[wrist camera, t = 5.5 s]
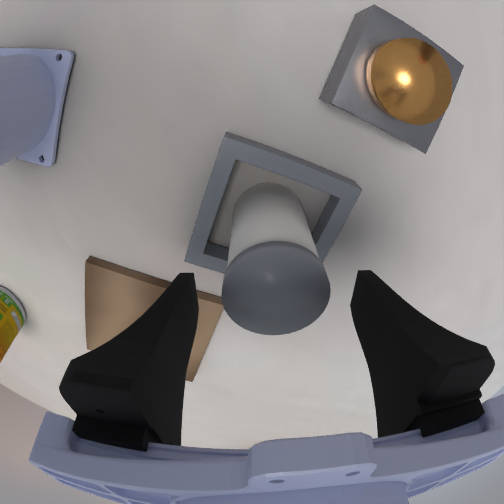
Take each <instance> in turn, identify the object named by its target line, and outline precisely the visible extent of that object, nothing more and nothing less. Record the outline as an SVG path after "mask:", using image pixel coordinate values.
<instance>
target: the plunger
mask: <svg viewBox="0 0 504 504" xmlns="http://www.w3.org/2000/svg"><path fill="white" fill-rule="evenodd" d="M366 80H367V85H368V89H369V92H370V94H371V96H372V98H373V100H374V101H375V103H376V104H377V105H378V106H379V108H380V109H381V110H383V111H384V112H385V113H386V114H388V115H389V116H391V117H393V118H395V119H398V120H401V121H403V122H406V123H409V124H413V125H425V124H429V123H431V122H434V121H435V120H437V119H438V118H440V117H441V116H442V115H443V114H444V112H445V111H446V109H447V108H448V106H449V103H450V101H451V97H452V77H451V73H450V70H449V67H448V65H447V63H446V61H445V60H444V58H443V57H442V56H441V54H440V53H439V52H438V51H437V50H436V49H435V48H434V47H432V46H431V45H430V44H428V43H426V42H424V41H422V40H419V39H416V38H400V39H395V40H390V41H387V42H384V43H382V44H381V45H379V46H378V47H377V48H376V49H375V50H374V51H373V53H372V54H371V56H370V58H369V61H368V64H367V69H366Z"/></svg>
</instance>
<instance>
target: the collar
mask: <svg viewBox="0 0 504 504" xmlns="http://www.w3.org/2000/svg"><path fill="white" fill-rule="evenodd" d="M235 160H239V161H242V162H245V163H248V164H251V165H254V166H257V167H260V168H262V169H265V170H268V171H271V172H274V173H276V174H279V175H282V176H285V177H287V178H290V179H293V180H295V181H298V182H300V183H303V184H306V185H308V186H311V187H313V188H316V189H318V190H321V191H323V192H326V193H328V194H331V197H330V199H329V201H328V203H327V205H326V207H325V209H324V211H323V213H322V215H321V217H320V219H319V221H318V223H317V225H316V227H315V229H314V231H313V233H312V238H313V241H314V244H315V247H316V250H317V253H318V256H319V259H320V260H321V262H322V263H323V261H324V259H325V257H326V256H327V254H328V252H329V250H330V248H331V247H332V245H333V243H334V241H335V240H336V238H337V236H338V234H339V232H340V230H341V229H342V227H343V225H344V223H345V221H346V219H347V218H348V216H349V214H350V212H351V210H352V208H353V206H354V204H355V202H356V201H357V199H358V197H359V195H360V193H361V191H362V189H361V188H360V187H359V186H358V185H357V184H356V182H355V181H353V180H350V179H348V178H346V177H344V176H341V175H339V174H337V173H334V172H332V171H330V170H327V169H325V168H323V167H320V166H318V165H315V164H313V163H310V162H308V161H305V160H303V159H300V158H298V157H295V156H293V155H290V154H287V153H285V152H282V151H280V150H277V149H274V148H271V147H269V146H266V145H263V144H260V143H258V142H255V141H252V140H249V139H246V138H243V137H240V136H237V135H234V134H231V133H228V132H226V134H225V136H224V139H223V141H222V144H221V147H220V150H219V153H218V156H217V159H216V162H215V165H214V167H213V170H212V173H211V176H210V179H209V182H208V186H207V189H206V192H205V195H204V198H203V201H202V204H201V207H200V210H199V214H198V217H197V220H196V223H195V227H194V230H193V233H192V237H191V240H190V243H189V247H188V250H187V253H186V257H185V260H184V262H188V263H191V264H194V265H198V266H201V267H204V268H207V269H211V270H214V271H217V272H221V273H224V274H225V271H226V269H227V263H228V255H229V249H228V248H225V247H222V246H218V245H215V244H212V243H209V242H207V240H208V237H209V234H210V231H211V228H212V225H213V222H214V219H215V216H216V213H217V211H218V208H219V205H220V202H221V199H222V196H223V193H224V191H225V188H226V185H227V182H228V179H229V177H230V174H231V171H232V168H233V166H234V163H235Z"/></svg>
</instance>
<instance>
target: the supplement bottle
mask: <svg viewBox="0 0 504 504" xmlns="http://www.w3.org/2000/svg"><path fill="white" fill-rule="evenodd" d="M25 320H26V315H25V311H24V309H23V307H22V305H21V303H20V302H19V301H18V299H17V298H16V297H15V296H14V295H13V294H12V293H11V292H10V291H9V290H7V289H5V288H3V287H0V362H1V361H2V359H3V357H4V355H5V354H6V352H7V350H8V349H9V347H10V345H11V344H12V342H13V340H14V339H15V337H16V335H17V334H18V332H19V331H20V329H21V328H22V326H23V324H24V323H25Z"/></svg>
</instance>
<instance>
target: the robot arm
mask: <svg viewBox="0 0 504 504" xmlns="http://www.w3.org/2000/svg"><path fill="white" fill-rule="evenodd" d="M61 54H62V59H61V60H59V56H60V55H61ZM73 60H74V54H73V52H72V51H69V50H57V49H40V48H0V166H2V165H3V164H5V163H7V162H9V161H11V160H12V159H14V158H16V159H20V160H24V161H27V162H31V163H35V164H38V165H42V166H45V167H50V166H52V165H53V164H54V163H55V157H56V148H57V140H58V133H59V126H60V120H61V114H62V108H63V103H64V98H65V93H66V88H67V84H68V80H69V75H70V71H71V67H72V63H73ZM42 156H44V160H43V159H42ZM350 307H351V312H352V317H353V322H354V326H355V329H356V332H357V334H358V337H359V340H360V343H361V346H362V349H363V352H364V355H365V358H366V361H367V364H368V368H369V372H370V377H371V382H372V387H373V393H374V400H375V408H376V417H377V430H378V438H375V439H372V437H371V436H369V435H367V434H364V433H362V432H360V433H344V434H336V435H327V436H317V437H305V438H289V439H276V440H268V441H263V442H261V443H258V444H255V445H254V446H252V447H251V449H250V450H241V449H212V448H197V447H185V446H181V427H182V410H183V398H184V388H185V379H186V373H187V367H188V363H189V359H190V355H191V351H192V347H193V342H194V338H195V334H196V330H197V323H198V314H199V304H198V298H197V292H196V285H195V279H194V273H179V274H178V275H177V277H176V278H175V279H174V280H173V281H172V283H171V284H170V285H169V286H168V287H167V289H166V290H165V291H164V292H163V293H162V294H161V296H160V297H159V298H158V299H157V300H156V301H155V302H154V303H153V304H152V305H151V306H150V307H149V308H148V309H147V311H146V312H145V313H144V314H143V315H142V316H140V317H139V318H138V319H137V320H136V321H135V322H134V323H132V324H131V325H130V326H129V327H128V328H126V329H125V330H124V331H122V332H121V333H119V334H118V335H116V336H115V337H114V338H112V339H111V340H109V341H108V342H106V343H104V344H103V345H101V346H99V347H97V348H96V349H94V350H92V351H90V352H88V353H86V354H84V355H81V356H79V357H77V358H75V359H73V360H71V362H70V364H69V366H68V368H67V370H66V372H65V374H64V377H63V379H62V381H61V384H60V386H59V390H60V393H61V395H62V396H63V398H64V399H65V401H66V402H67V403H68V404H69V406H70V407H71V408H72V409H73V410H74V412H75V413H76V414H77V417H76V420H75V421H74V420H72V419H70V418H68V417H65V416H61V415H58V414H54V413H51V412H46V413H45V416H44V419H43V421H42V424H41V426H40V429H39V432H38V435H37V437H36V440H35V443H34V446H33V448H32V451H31V455H30V457H29V461H30V462H31V463H32V464H33V465H35V466H36V467H37V468H39V469H41V470H42V471H43V472H45V473H46V474H48V475H49V476H51V477H52V478H54V479H55V480H57V481H59V482H60V483H62V484H65V485H68V486H70V487H73V488H76V489H79V490H82V491H85V492H87V493H91V494H93V495H96V496H100V497H103V498H106V499H109V500H112V501H116V502H119V503H123V504H409V503H408V498H410V497H413V496H415V495H418V494H421V493H424V492H426V491H429V490H431V489H434V488H436V487H439V486H441V485H444V484H446V483H448V482H451V481H453V480H455V479H457V478H460V477H462V476H464V475H467V474H469V473H471V472H473V471H475V470H477V469H479V468H481V467H483V466H485V465H488V464H490V463H491V462H493V461H494V460H496V459H497V458H498V457H500V456H501V455H502V454H503V453H504V394H502V395H499V396H497V397H494V398H491V399H489V400H487V401H485V402H484V403H482V404H481V402H480V400H479V398H481V396H482V394H481V391H480V388H481V386H482V385H483V384H484V382H485V381H486V380H487V379H488V377H489V376H490V374H491V373H492V371H493V369H494V366H495V361H494V359H493V357H492V356H491V354H490V352H489V350H488V349H487V347H486V346H484V345H481V344H478V343H476V342H473V341H470V340H468V339H465V338H463V337H461V336H459V335H457V334H455V333H453V332H451V331H449V330H447V329H445V328H443V327H442V326H440V325H438V324H436V323H435V322H433V321H432V320H430V319H429V318H427V317H426V316H424V315H423V314H421V313H420V312H419V311H417V310H416V309H415V308H413V307H412V306H411V305H410V304H409V303H407V302H406V301H405V300H404V299H402V298H401V297H400V296H399V295H398V294H397V293H396V292H395V291H393V290H392V289H391V288H390V287H389V286H388V285H387V284H386V283H385V282H384V281H382V280H381V279H380V278H379V277H378V276H377V275H376V274H375V273H373V272H372V271H371V270H358V273H357V278H356V282H355V287H354V291H353V296H352V300H351V304H350Z"/></svg>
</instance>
